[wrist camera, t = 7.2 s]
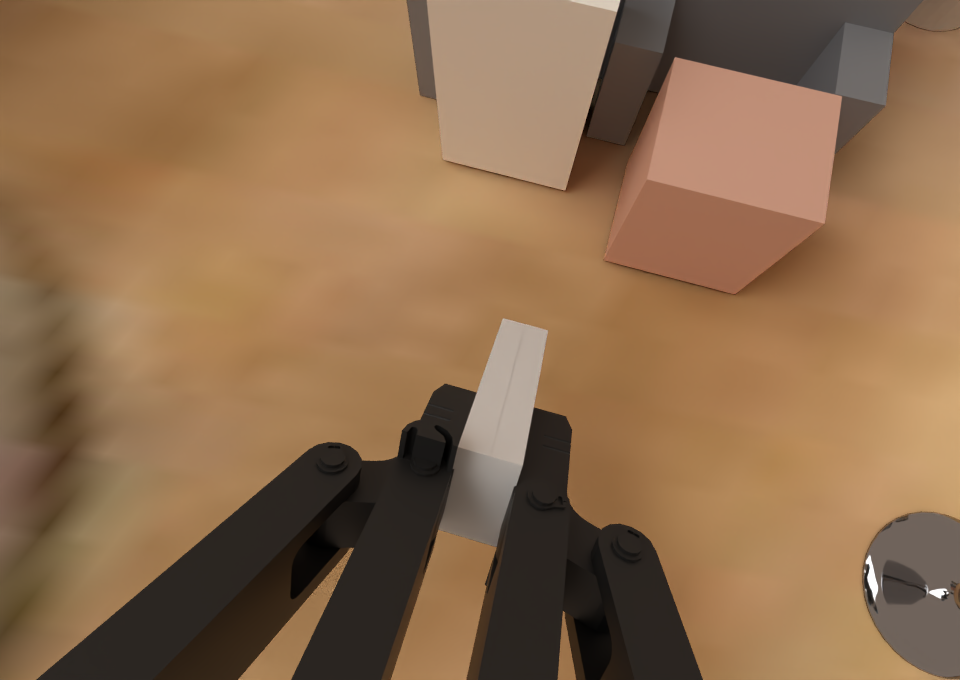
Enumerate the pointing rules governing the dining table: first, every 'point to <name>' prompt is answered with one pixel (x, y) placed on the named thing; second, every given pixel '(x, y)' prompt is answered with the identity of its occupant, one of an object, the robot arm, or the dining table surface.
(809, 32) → the console
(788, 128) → the terracotta key
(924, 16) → the coffee cup
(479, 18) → the cream key
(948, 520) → the wine glass
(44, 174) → the dining table surface
